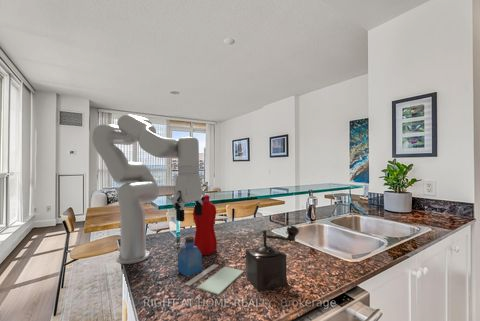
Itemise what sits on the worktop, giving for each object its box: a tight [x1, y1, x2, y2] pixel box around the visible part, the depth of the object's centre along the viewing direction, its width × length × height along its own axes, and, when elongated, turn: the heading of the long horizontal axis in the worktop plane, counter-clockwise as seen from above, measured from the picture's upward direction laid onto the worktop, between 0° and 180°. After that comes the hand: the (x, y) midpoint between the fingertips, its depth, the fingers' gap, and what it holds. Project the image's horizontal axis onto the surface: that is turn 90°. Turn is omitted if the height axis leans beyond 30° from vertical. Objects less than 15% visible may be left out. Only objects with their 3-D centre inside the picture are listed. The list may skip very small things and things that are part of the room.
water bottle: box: [192, 194, 218, 256], centre depth 101 cm, size 9×11×25 cm
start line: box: [184, 263, 219, 287], centre depth 80 cm, size 2×16×1 cm, turn 151°
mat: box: [196, 266, 245, 296], centre depth 76 cm, size 8×16×1 cm, turn 151°
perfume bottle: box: [177, 236, 203, 278], centre depth 83 cm, size 6×6×12 cm
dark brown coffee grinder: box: [245, 225, 300, 292], centre depth 76 cm, size 16×11×18 cm
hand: (189, 217), depth 83 cm, fingers open, 9 cm apart
